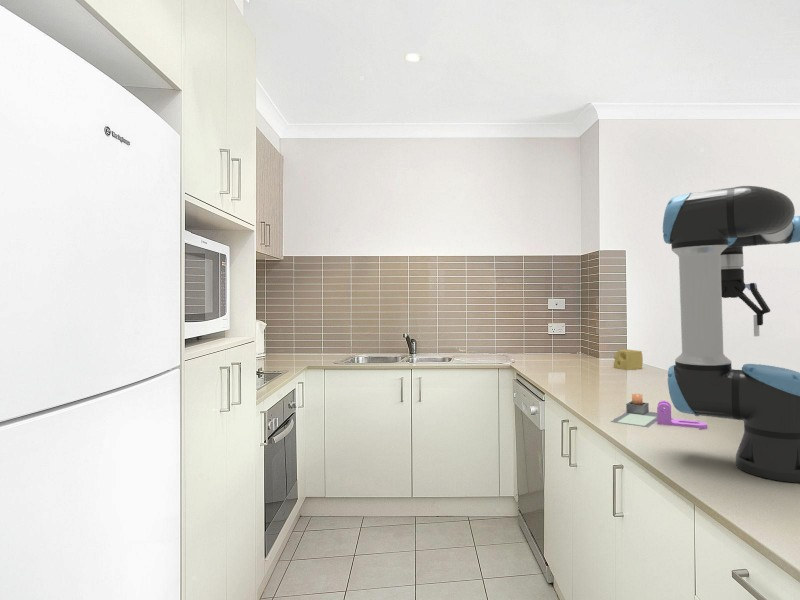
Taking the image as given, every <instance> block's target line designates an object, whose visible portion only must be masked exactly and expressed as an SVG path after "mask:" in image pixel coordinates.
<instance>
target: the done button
mask: <svg viewBox="0 0 800 600" xmlns="http://www.w3.org/2000/svg"><path fill="white" fill-rule="evenodd" d="M643 399H644V398H643V394H641V393H632V394H631V401H632V404H635V405H643V402H644V400H643Z"/></svg>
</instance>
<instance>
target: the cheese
mask: <svg viewBox="0 0 800 600" xmlns="http://www.w3.org/2000/svg"><path fill="white" fill-rule="evenodd" d="M643 358H644V357H643V352H642V350H633V349H619V350H617V352H616V353H615V354H614V355H613V359H614V361H613V368H614V369H621V370H624V371H633V370H642V369H643V364H644V361H643Z"/></svg>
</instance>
